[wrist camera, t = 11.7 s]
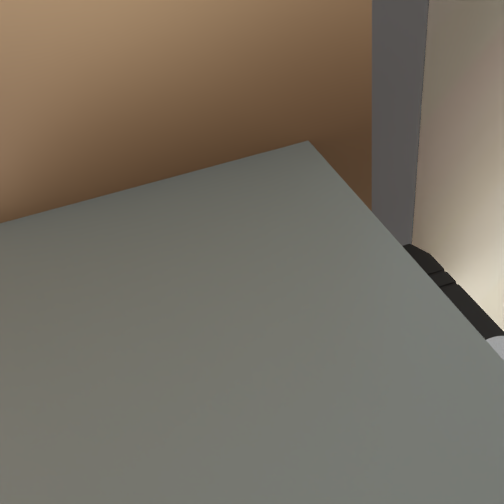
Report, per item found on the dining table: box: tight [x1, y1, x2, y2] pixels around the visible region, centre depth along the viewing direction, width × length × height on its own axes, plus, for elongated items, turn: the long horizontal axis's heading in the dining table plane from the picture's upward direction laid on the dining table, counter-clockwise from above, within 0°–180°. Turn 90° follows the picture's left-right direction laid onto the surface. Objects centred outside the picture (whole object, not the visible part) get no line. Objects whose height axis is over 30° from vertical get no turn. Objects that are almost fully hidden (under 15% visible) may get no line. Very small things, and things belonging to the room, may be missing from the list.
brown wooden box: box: [0, 0, 372, 223], centre depth 11 cm, size 21×6×6 cm, turn 10°
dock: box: [372, 0, 429, 246], centre depth 15 cm, size 16×25×5 cm, turn 10°
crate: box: [0, 141, 504, 504], centre depth 4 cm, size 4×4×4 cm
